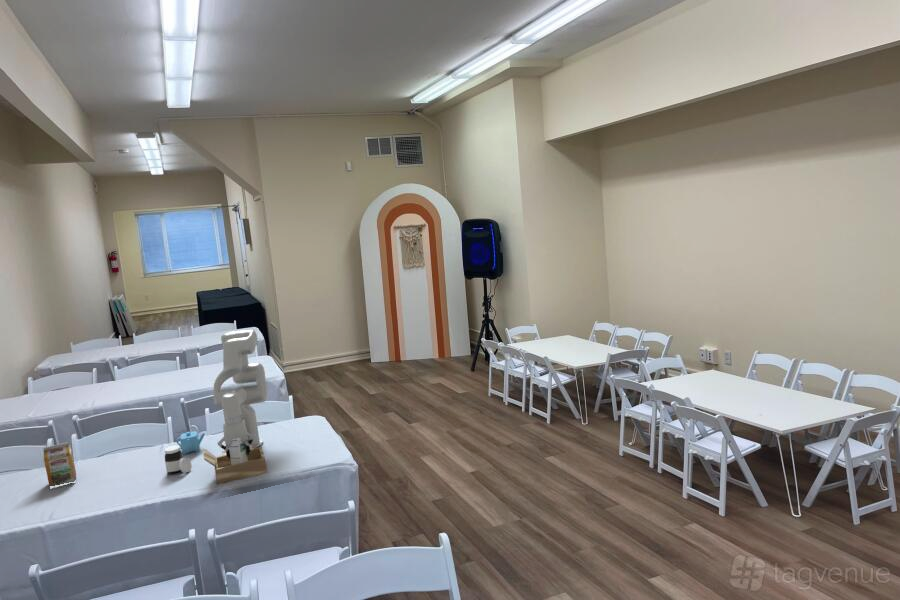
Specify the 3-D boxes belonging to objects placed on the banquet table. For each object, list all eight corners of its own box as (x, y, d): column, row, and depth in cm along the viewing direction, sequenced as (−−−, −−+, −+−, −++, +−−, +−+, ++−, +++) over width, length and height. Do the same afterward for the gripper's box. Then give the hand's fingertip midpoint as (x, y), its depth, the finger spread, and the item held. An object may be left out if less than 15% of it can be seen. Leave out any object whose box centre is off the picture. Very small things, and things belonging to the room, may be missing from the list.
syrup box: (243, 468, 299) (238, 438, 297) (231, 468, 301) (226, 438, 298) (249, 463, 305) (244, 433, 302) (237, 463, 306) (233, 434, 304)
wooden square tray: (215, 467, 312) (213, 453, 311) (262, 456, 320) (260, 443, 319) (217, 484, 292) (214, 469, 291) (267, 472, 300) (265, 458, 299)
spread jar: (169, 468, 316) (165, 445, 314) (193, 464, 318) (190, 441, 316) (165, 478, 304) (161, 455, 302) (190, 473, 307) (186, 450, 305)
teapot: (178, 447, 342) (175, 429, 341) (206, 441, 347) (203, 424, 346) (177, 459, 326) (174, 440, 324) (207, 453, 331) (204, 434, 329)
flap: (215, 456, 305) (214, 457, 305) (204, 448, 302) (203, 449, 302) (216, 466, 292) (216, 467, 292) (204, 458, 290) (203, 459, 290)
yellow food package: (50, 489, 303) (42, 451, 300) (51, 481, 313) (44, 444, 309) (75, 483, 308) (68, 445, 305) (76, 475, 317) (69, 438, 314)
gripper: (252, 413, 306) (257, 448, 309) (213, 421, 299) (218, 457, 302) (253, 418, 299) (258, 454, 302) (213, 426, 293) (219, 463, 295)
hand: (238, 455), depth 302 cm, fingers closed on syrup box, 7 cm apart
